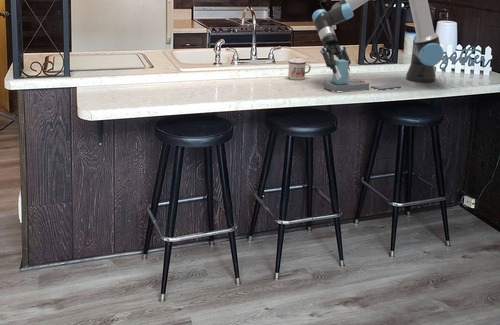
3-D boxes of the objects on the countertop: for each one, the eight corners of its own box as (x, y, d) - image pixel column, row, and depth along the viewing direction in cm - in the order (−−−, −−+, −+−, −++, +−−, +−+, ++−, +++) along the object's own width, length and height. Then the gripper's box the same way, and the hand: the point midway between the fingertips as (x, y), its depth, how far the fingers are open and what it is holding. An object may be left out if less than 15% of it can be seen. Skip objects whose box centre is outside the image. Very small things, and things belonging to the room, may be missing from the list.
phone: (391, 86, 327) (391, 83, 327) (401, 89, 322) (401, 86, 321) (370, 88, 320) (370, 86, 320) (379, 91, 315) (379, 89, 314)
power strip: (357, 85, 325) (357, 78, 324) (369, 89, 317) (369, 82, 316) (323, 88, 317) (323, 81, 316) (334, 92, 309) (334, 85, 307)
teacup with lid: (290, 80, 332) (291, 57, 328) (285, 76, 340) (286, 54, 336) (312, 79, 335) (314, 57, 331) (307, 76, 343) (308, 54, 339)
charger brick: (341, 81, 317) (342, 59, 314) (346, 83, 313) (348, 61, 310) (332, 82, 315) (333, 59, 312) (337, 84, 311) (339, 61, 307)
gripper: (340, 41, 325) (356, 80, 317) (309, 43, 318) (324, 83, 309) (347, 32, 319) (363, 72, 311) (315, 34, 311) (331, 74, 303)
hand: (344, 77), depth 310 cm, fingers closed on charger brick, 5 cm apart
